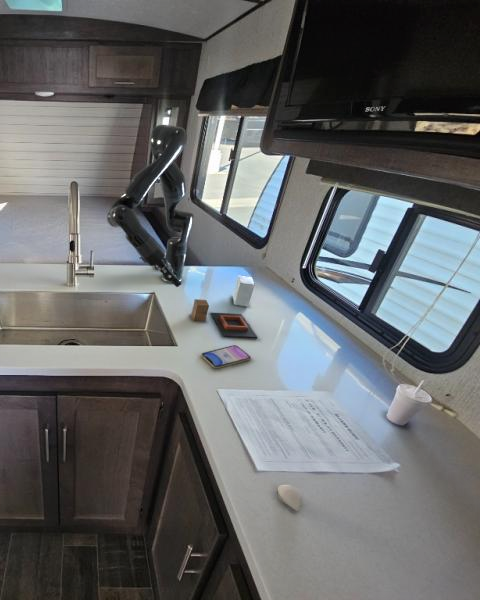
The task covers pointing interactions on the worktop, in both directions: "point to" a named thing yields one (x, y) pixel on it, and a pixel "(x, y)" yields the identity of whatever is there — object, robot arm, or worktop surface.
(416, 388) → the smoothie
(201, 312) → the oak block
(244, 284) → the small box
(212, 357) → the smartphone
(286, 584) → the worktop surface
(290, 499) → the cream seashell
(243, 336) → the dock pad
